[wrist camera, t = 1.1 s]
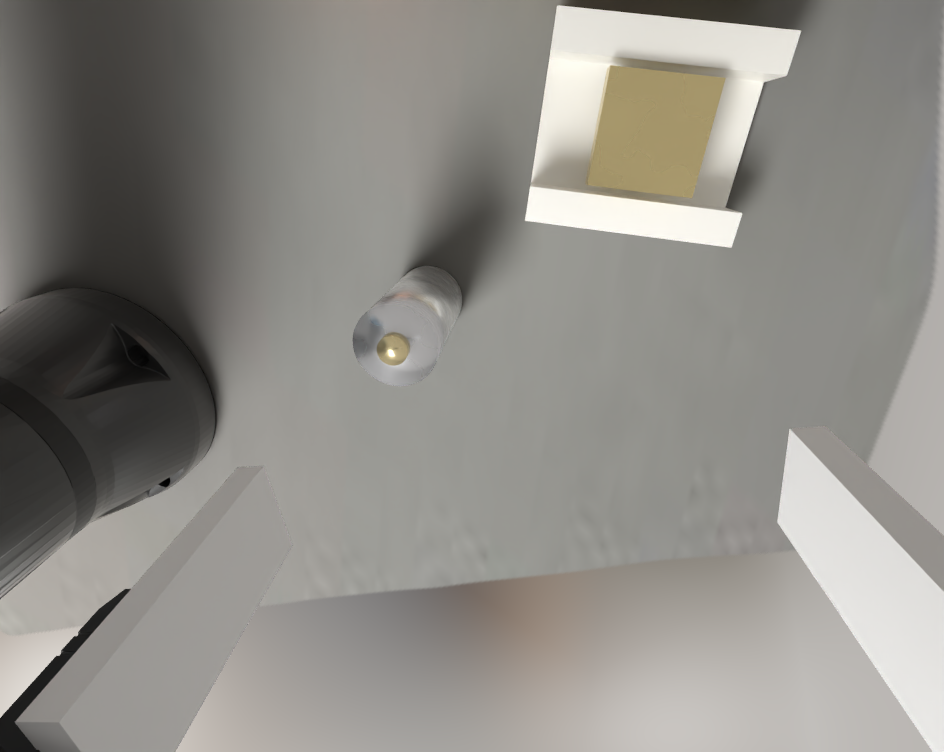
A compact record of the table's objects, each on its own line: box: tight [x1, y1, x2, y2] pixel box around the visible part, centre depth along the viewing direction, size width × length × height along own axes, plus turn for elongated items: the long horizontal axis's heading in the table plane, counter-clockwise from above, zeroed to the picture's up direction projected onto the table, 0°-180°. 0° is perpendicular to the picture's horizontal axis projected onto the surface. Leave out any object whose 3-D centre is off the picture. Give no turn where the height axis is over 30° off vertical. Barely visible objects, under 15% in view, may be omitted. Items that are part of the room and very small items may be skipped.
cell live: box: [353, 266, 462, 386], centre depth 27 cm, size 4×4×9 cm
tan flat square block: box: [585, 65, 726, 198], centre depth 23 cm, size 5×5×1 cm
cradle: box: [525, 5, 801, 247], centre depth 24 cm, size 10×9×3 cm
